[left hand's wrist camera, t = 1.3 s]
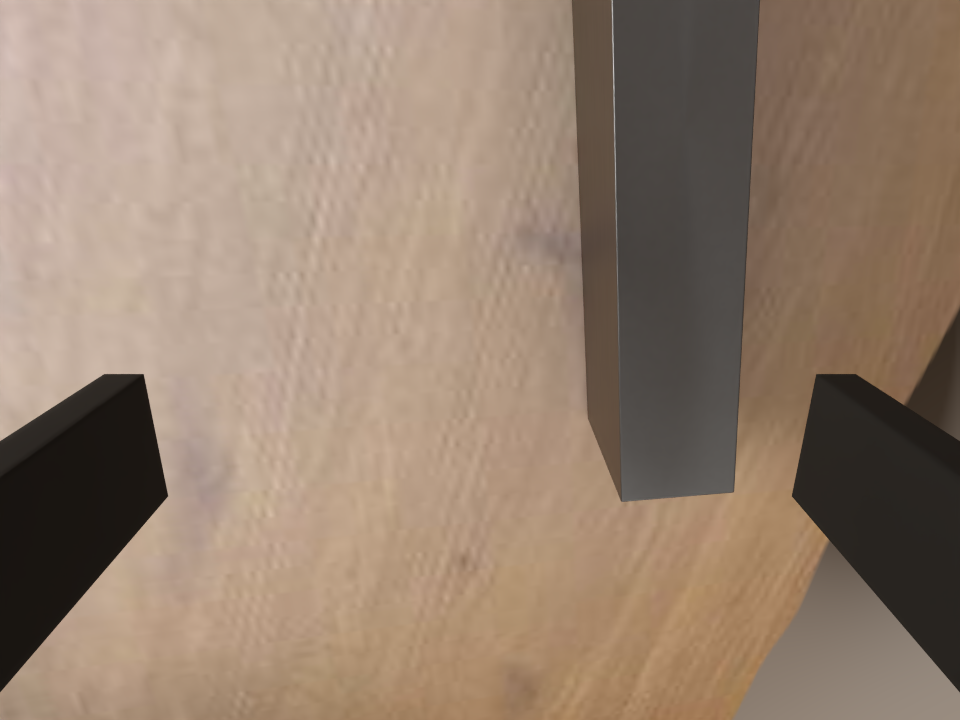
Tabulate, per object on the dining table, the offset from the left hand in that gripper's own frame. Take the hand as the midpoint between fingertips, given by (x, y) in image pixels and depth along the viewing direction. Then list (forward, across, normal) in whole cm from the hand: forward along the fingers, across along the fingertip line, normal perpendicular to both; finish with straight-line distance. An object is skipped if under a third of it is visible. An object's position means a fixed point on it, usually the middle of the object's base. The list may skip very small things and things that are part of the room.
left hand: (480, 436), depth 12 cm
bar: (+19, -7, -6) cm, 21 cm away
